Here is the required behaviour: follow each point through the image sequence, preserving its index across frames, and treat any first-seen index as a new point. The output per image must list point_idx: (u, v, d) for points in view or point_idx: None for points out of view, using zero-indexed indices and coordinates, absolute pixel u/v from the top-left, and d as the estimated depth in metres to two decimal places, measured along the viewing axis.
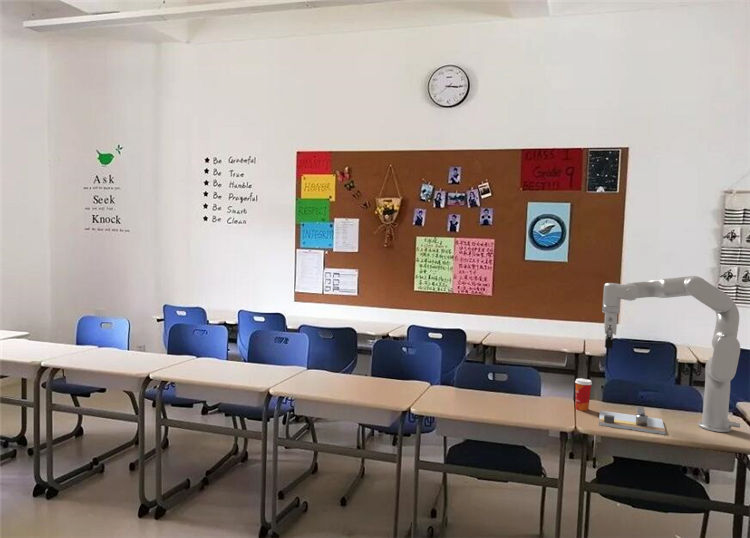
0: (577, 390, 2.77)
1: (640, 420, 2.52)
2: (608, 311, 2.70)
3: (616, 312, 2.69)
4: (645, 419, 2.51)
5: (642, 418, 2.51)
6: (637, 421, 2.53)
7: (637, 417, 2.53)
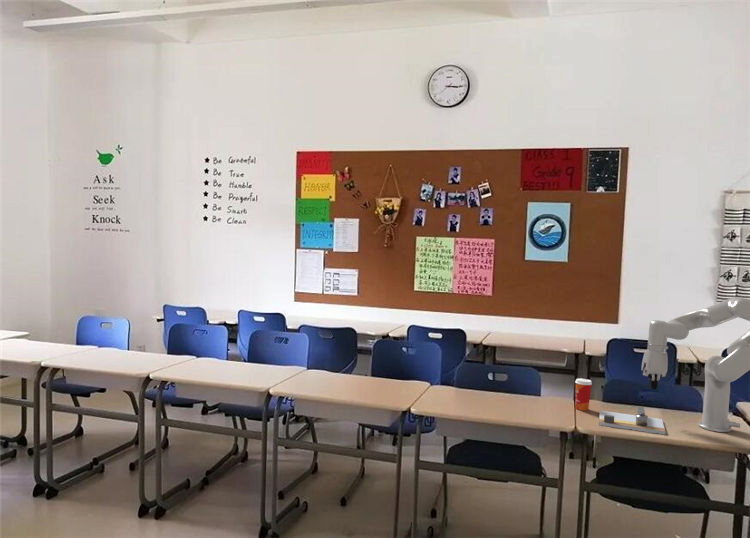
0: (577, 390, 2.77)
1: (640, 420, 2.52)
2: None
3: None
4: (645, 419, 2.51)
5: (642, 418, 2.51)
6: (637, 421, 2.53)
7: (637, 417, 2.53)
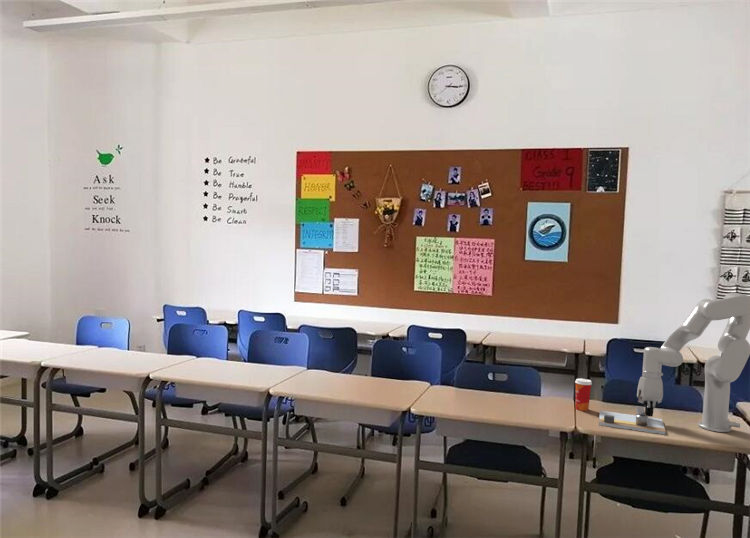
0: (577, 390, 2.77)
1: (640, 420, 2.52)
2: None
3: None
4: (645, 419, 2.51)
5: (642, 418, 2.51)
6: (637, 421, 2.53)
7: (637, 417, 2.53)
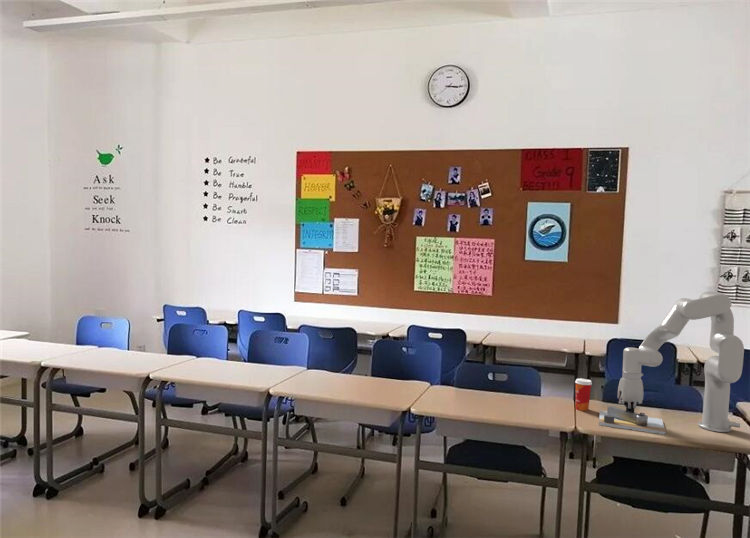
0: (577, 390, 2.77)
1: (645, 420, 2.52)
2: None
3: None
4: (647, 418, 2.53)
5: (647, 418, 2.52)
6: (642, 422, 2.51)
7: (642, 418, 2.51)
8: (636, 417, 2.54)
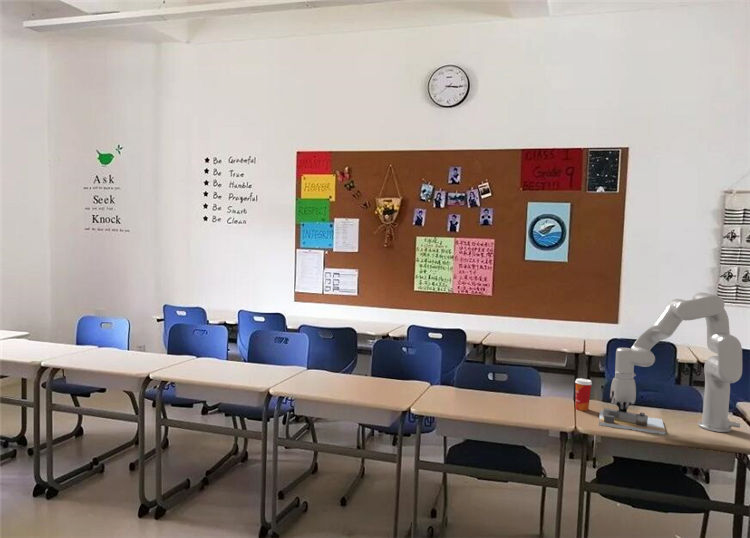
0: (577, 390, 2.77)
1: (646, 420, 2.52)
2: None
3: None
4: None
5: (647, 418, 2.52)
6: (644, 422, 2.51)
7: (644, 418, 2.51)
8: (637, 418, 2.53)
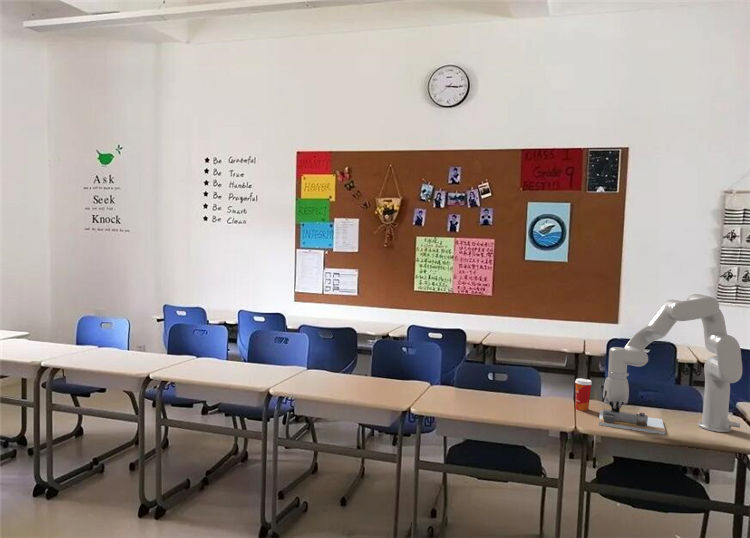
0: (577, 390, 2.77)
1: (647, 420, 2.52)
2: (626, 377, 2.60)
3: None
4: None
5: (647, 417, 2.53)
6: (645, 422, 2.52)
7: (645, 418, 2.51)
8: (638, 418, 2.52)
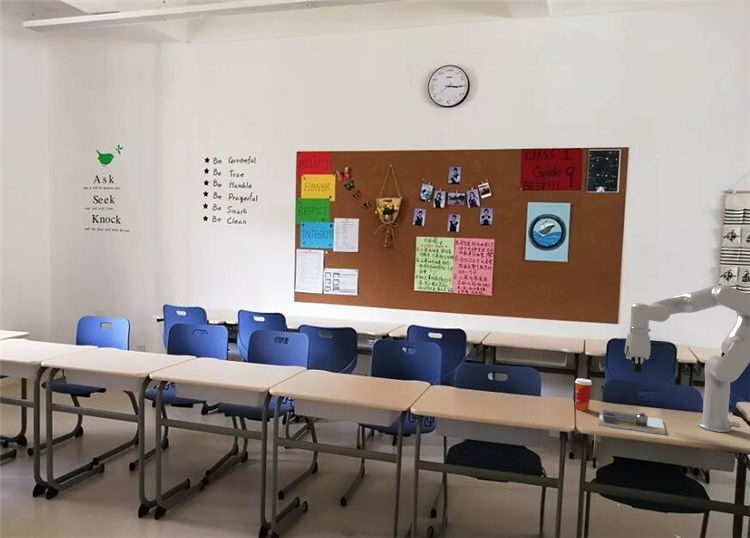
0: (577, 390, 2.77)
1: (647, 420, 2.52)
2: None
3: None
4: None
5: (647, 417, 2.53)
6: (645, 422, 2.52)
7: (645, 418, 2.51)
8: (638, 418, 2.52)
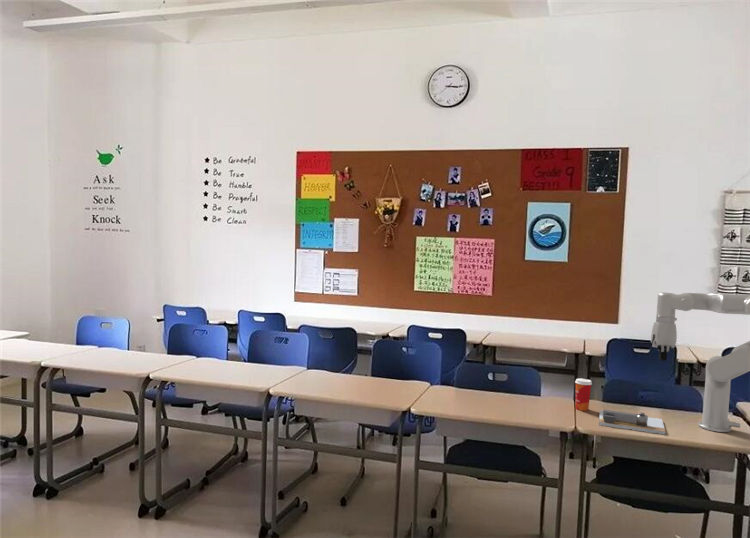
0: (577, 390, 2.77)
1: (647, 420, 2.52)
2: None
3: None
4: None
5: (647, 417, 2.53)
6: (645, 422, 2.52)
7: (645, 418, 2.51)
8: (638, 418, 2.52)
